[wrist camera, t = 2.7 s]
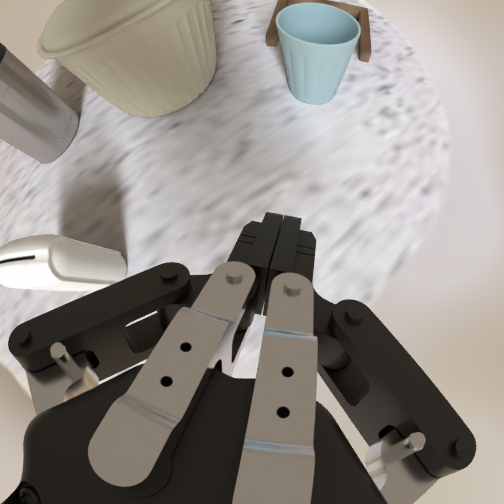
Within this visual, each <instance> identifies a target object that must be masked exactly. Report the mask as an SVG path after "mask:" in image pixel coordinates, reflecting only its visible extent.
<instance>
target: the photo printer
mask: <svg viewBox="0 0 504 504" xmlns="http://www.w3.org/2000/svg"><path fill="white" fill-rule="evenodd" d="M126 272H127V266H126V262H125V260H124V258H123V257H122V256H121V252H119V251H116V250H112V249H108V248H104V247H100V246H97V245H93V244H89V243H85V242H82V241H78V240H75V239H71V238H68V237H64V236H59V235H53V234H47V235H36V236H30V237H25V238H20V239H17V240H13V241H11V242H9V243H7V244H5V245H3V246H2V247H1V248H0V283H1V284H2V285H4V286H6V287H9V288H20V289H34V290H50V291H90V290H100V289H102V288H105V287H107V286H109V285H112V284H114V283H117V282H119V281H121V280H124V279H125V277H126Z"/></svg>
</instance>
